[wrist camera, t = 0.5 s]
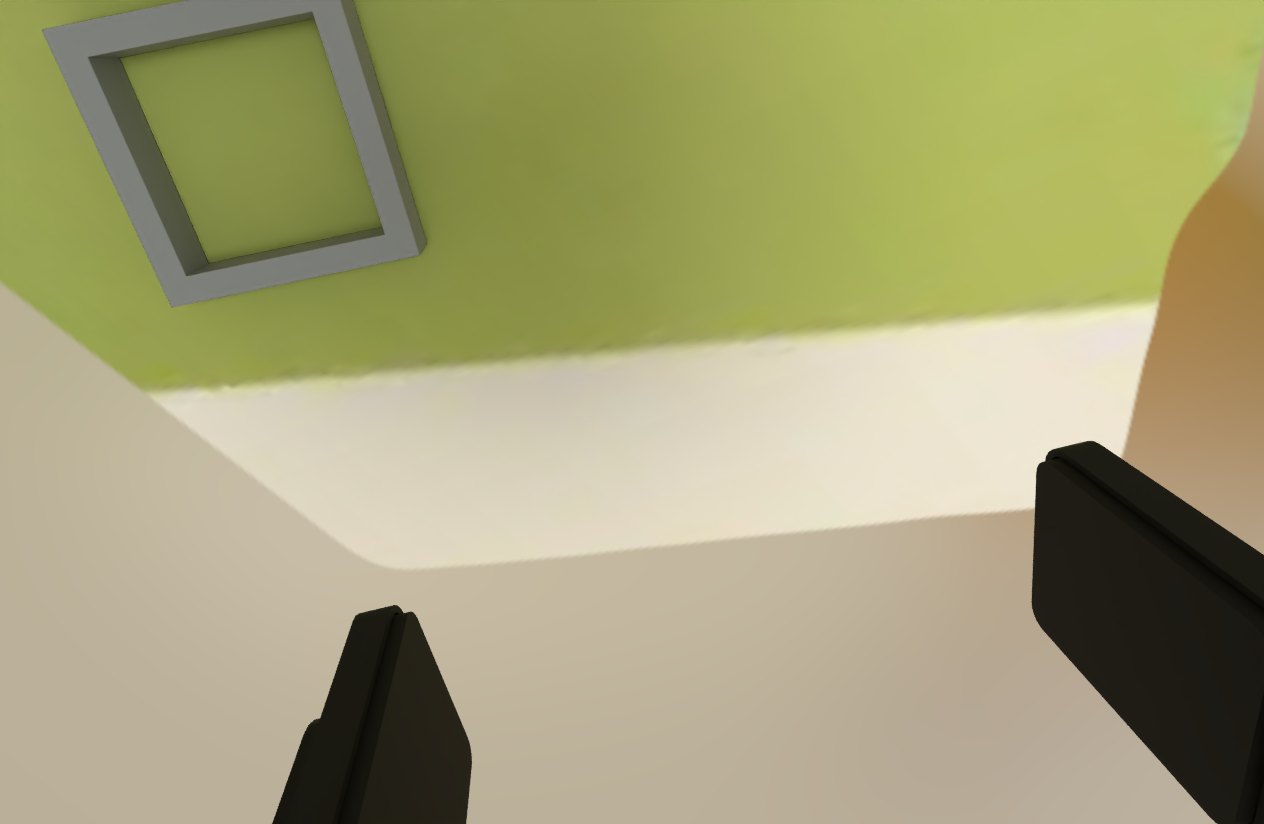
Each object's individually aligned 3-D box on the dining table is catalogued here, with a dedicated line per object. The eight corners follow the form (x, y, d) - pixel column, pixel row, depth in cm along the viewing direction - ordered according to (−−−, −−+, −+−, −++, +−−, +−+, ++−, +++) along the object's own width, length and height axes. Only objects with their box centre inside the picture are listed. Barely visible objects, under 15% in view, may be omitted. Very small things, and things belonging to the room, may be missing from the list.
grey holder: (77, 32, 31) (41, 29, 29) (346, -22, 32) (331, -29, 29) (194, 292, 36) (171, 307, 34) (427, 243, 37) (419, 255, 34)
